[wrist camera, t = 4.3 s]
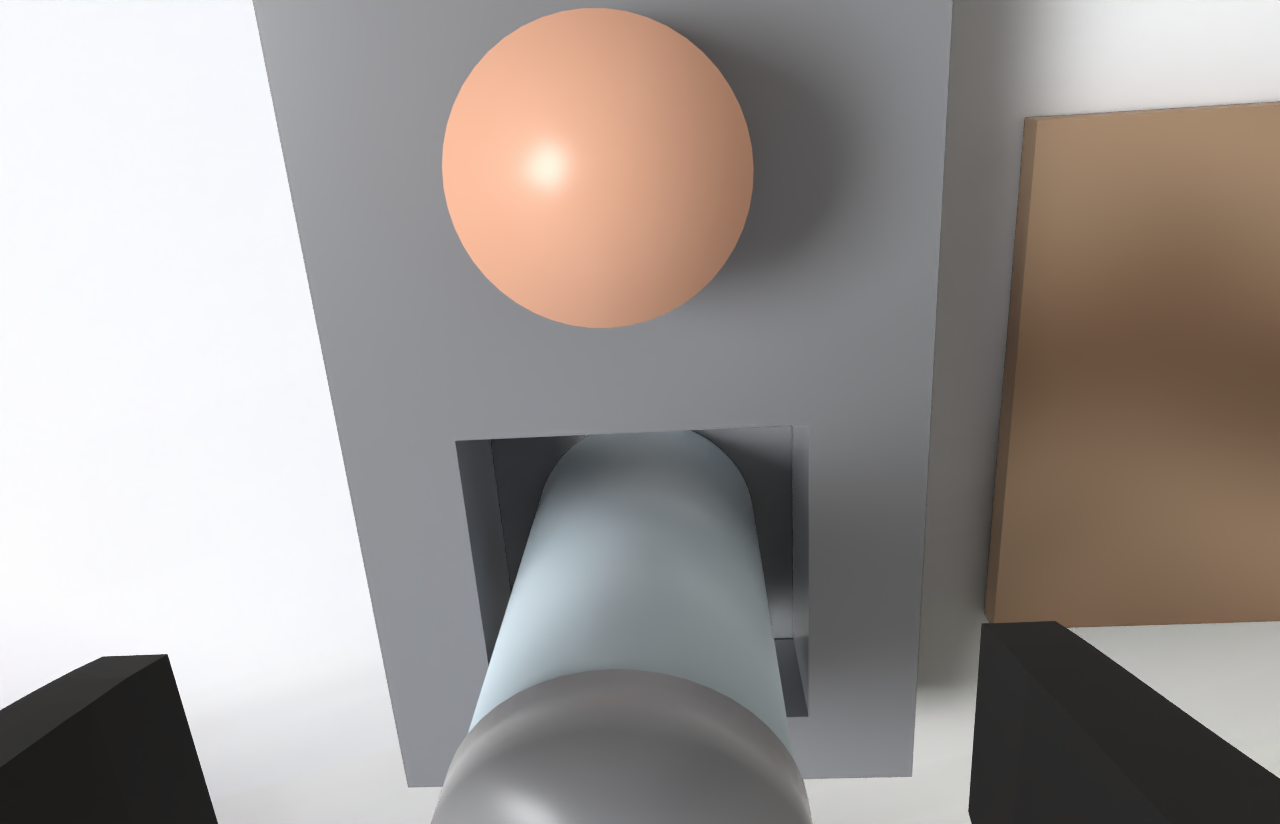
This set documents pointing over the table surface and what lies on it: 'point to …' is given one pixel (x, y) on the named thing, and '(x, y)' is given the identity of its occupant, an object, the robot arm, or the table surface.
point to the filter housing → (633, 336)
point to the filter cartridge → (633, 654)
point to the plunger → (597, 168)
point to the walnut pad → (1142, 373)
